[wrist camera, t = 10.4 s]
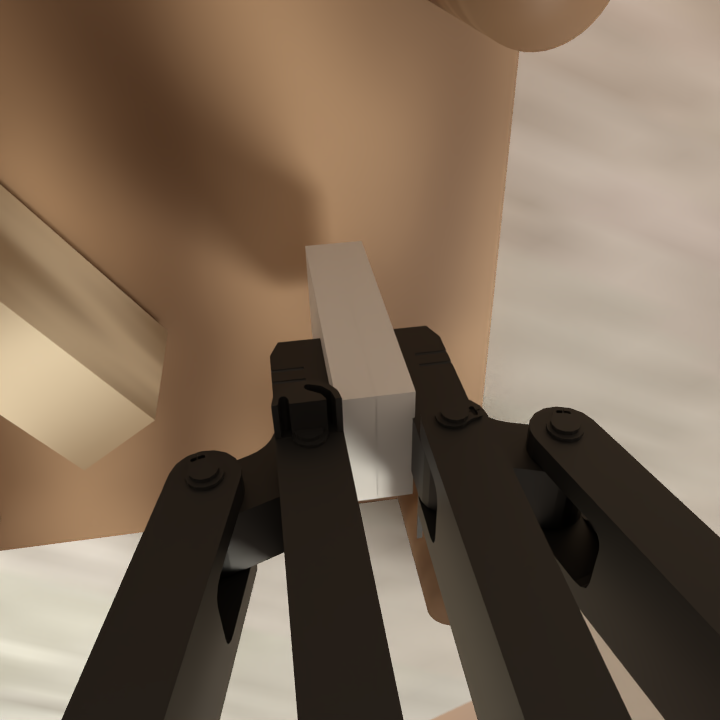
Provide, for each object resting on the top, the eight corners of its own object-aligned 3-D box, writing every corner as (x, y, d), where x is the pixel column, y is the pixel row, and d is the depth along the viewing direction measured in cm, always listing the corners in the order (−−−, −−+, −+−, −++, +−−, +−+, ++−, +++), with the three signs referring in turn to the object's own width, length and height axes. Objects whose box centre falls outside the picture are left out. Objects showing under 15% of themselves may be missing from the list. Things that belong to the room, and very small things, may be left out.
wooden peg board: (-61, 518, 25) (-162, 736, 19) (-443, -154, 14) (-1053, -186, 7) (459, 452, 27) (528, 628, 21) (511, -175, 16) (703, -213, 9)
